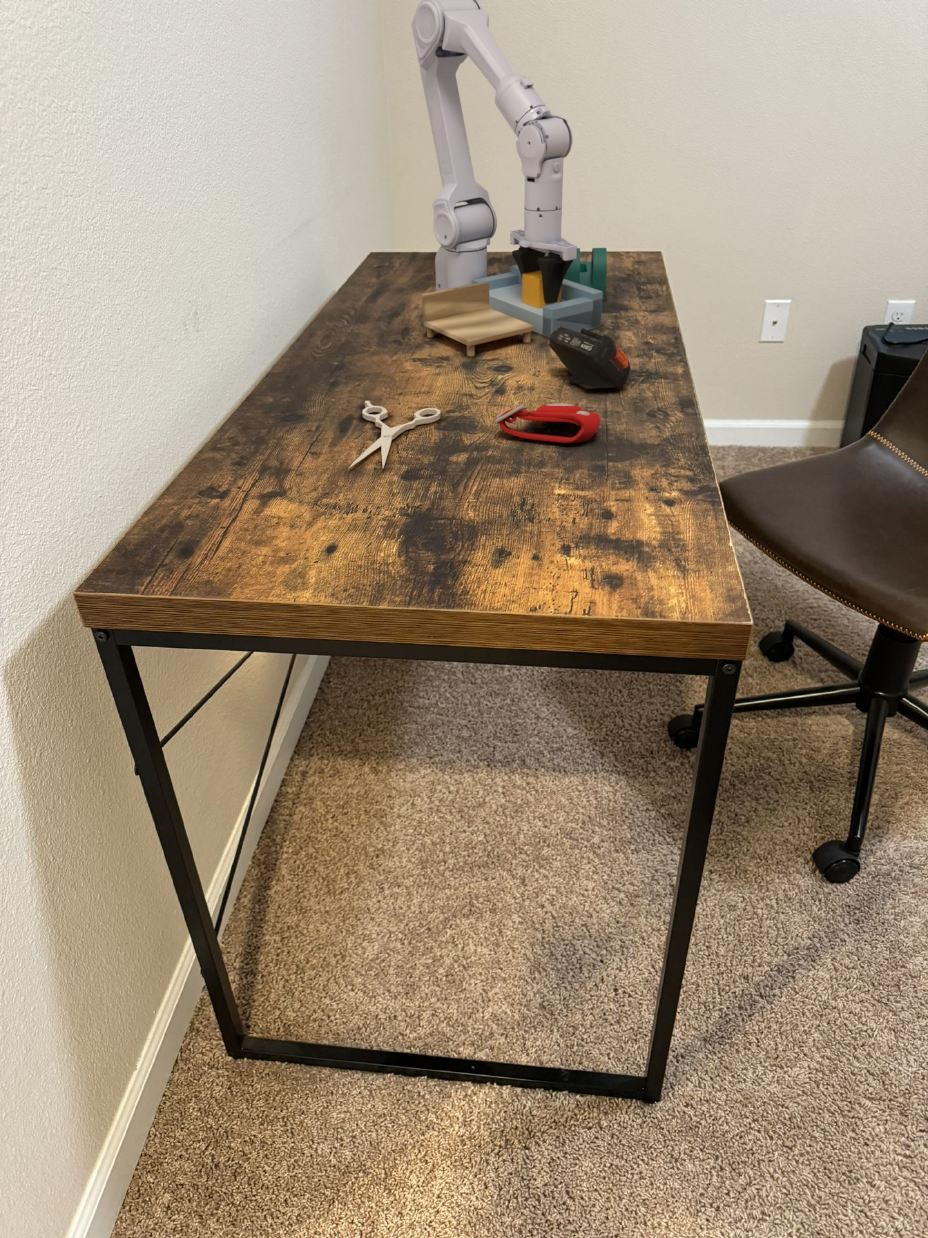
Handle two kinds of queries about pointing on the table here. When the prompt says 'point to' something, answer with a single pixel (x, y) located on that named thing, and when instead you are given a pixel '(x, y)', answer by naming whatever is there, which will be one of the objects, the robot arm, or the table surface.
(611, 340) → the battery
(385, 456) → the scissors
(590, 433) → the tracker holder
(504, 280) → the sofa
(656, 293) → the table surface
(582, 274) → the bracket
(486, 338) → the low wooden bench
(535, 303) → the block
